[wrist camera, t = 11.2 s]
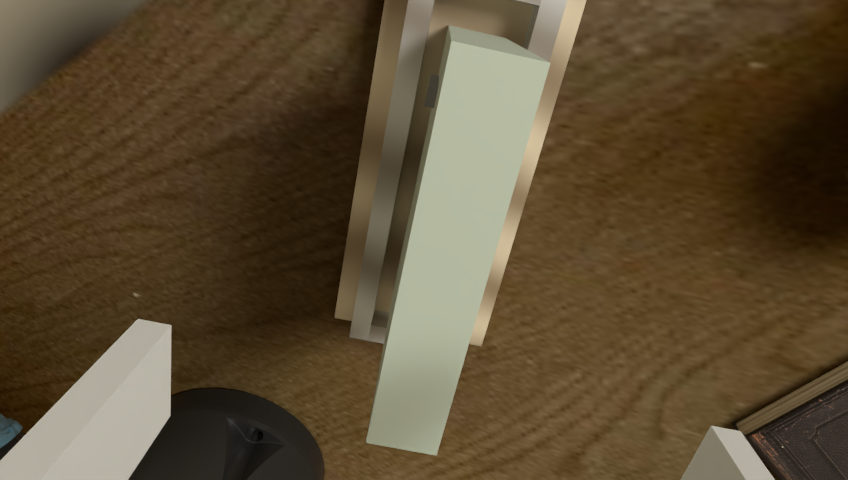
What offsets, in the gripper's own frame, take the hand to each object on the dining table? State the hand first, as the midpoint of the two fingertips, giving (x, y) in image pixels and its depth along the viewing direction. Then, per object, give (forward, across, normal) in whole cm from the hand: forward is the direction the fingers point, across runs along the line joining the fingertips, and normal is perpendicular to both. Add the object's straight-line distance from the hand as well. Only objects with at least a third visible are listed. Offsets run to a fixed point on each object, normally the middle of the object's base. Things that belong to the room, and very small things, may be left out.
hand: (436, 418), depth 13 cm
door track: (+21, 0, 0) cm, 21 cm away
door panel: (+20, 0, 0) cm, 20 cm away
